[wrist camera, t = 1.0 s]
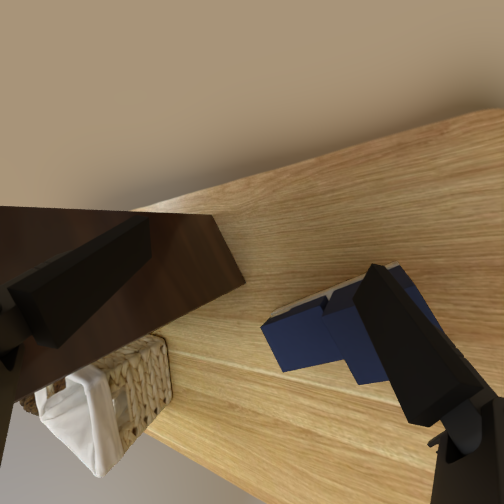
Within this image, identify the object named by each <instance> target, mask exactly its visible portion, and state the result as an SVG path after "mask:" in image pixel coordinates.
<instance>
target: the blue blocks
mask: <svg viewBox="0 0 504 504" xmlns="http://www.w3.org/2000/svg"><path fill="white" fill-rule="evenodd" d="M385 267H386V268H387V269H388V271H389V272H390V273H391V274H392V276H393V277H394V278H395V279H396V280H397V282H398V283H399V284H400V285H401V287H402V288H403V289H404V290H405V291H406V293H407V294H408V295H409V296H410V298H411V299H412V300H413V301H414V302H415V304H416V305H417V306H418V307H419V309H420V310H421V311H422V312H423V313H424V315H425V316H426V317H427V318H428V320H429V321H430V322H431V323H432V324H433V325H435V326H436V327H437V328H438V329H440V330H441V331H442V332H443V333H444V331H443V329H442V328H441V326H440V325H439V323H438V321H437V320H436V318H435V316H434V315H433V313H432V312H431V310H430V308H429V307H428V305H427V303H426V302H425V300H424V299H423V297H422V295H421V294H420V292H419V290H418V289H417V287H416V286H415V284H414V283H413V282H412V280H411V279H410V278H409V276H408V275H407V274H406V272H405V271H404V270H403V269H402V267H401V266H400V264H399V263H398V262H397V261H395V262H392V263H390V264H387V265H385ZM365 275H366V273H365V274H362V275H360V276H357V277H355V278H352V279H350V280H347V281H345V282H342V283H340V284H337V285H335V286H333V287H330V288H328V289H325V290H323V291H320V292H318V293H315V294H313V295H310V296H308V297H305V298H303V299H300V300H298V301H295V302H293V303H290V304H288V305H285V306H283V307H280V308H278V309H275V310H274V311H273V312H272V313H271V315H272V316H271V317H270V318H269V319H268V320H267V321H266V322H265V323H264V324H263V325H262V326H261V327H260V328H261V330H262V332H263V334H264V336H265V338H266V340H267V342H268V344H269V346H270V348H271V350H272V352H273V354H274V356H275V358H276V360H277V362H278V364H279V366H280V368H281V370H282V372H287V371H292V370H297V369H301V368H306V367H310V366H315V365H320V364H324V363H329V362H333V361H338V360H343V359H344V360H345V361H346V363H347V365H348V367H349V369H350V371H351V373H352V374H353V376H354V378H355V380H356V382H357V384H358V385H363V384H369V383H376V382H383V381H389V379H388V377H387V375H386V372H385V370H384V368H383V366H382V364H381V361H380V359H379V357H378V355H377V353H376V350H375V348H374V346H373V344H372V342H371V339H370V337H369V335H368V333H367V331H366V329H365V326H364V324H363V322H362V320H361V318H360V315H359V313H358V311H357V309H356V307H355V304H354V302H353V300H352V298H353V296H354V294H355V293H356V291H357V289H358V287H359V285H360V284H361V282H362V280H363V278H364V277H365ZM444 334H445V333H444Z"/></svg>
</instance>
